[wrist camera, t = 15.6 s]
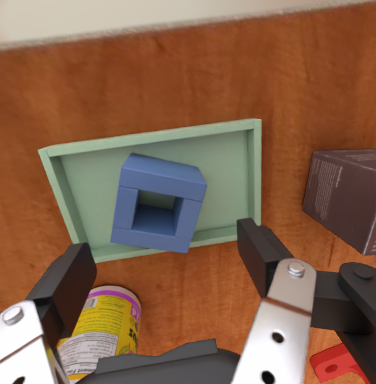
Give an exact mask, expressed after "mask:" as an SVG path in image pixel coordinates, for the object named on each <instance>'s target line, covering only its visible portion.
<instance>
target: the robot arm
mask: <svg viewBox="0 0 376 384" xmlns="http://www.w3.org/2000/svg"><path fill="white" fill-rule="evenodd" d="M236 224H237V245H238V250H239V254H240V256H241V258H242V260H243V262H244V264H245V266H246V268H247V270H248V272H249V274H250V276H251V278H252V280H253V282H254V285H255V287H256V289H257V291H258V293H259V295H260V297H261V302H260V305H259V307H258V310H257V313H256V316H255V318H254V321H253V324H252V327H251V329H250V332H249V335H248V338H247V340H246V343H245V346H244V349H243V351H242V354H241V355H239V354H237V353H234V352H232V351H229V350H225V349H219V348H217V345H216V340H215V338H214V339H208V340H202V341H196V342H191V343H186V344H184V345H182V346H180V347H177V348H175V349H173V350H171V351H169V352H166V353H164V354H162V355H160V356H146V355H137V354H128V353H127V354H121V355H116V356H110V357H104V358H99V359H98V363H97V366H96V370H95V371H93V372H91V373H90V374H88V375H86V376H84V377H83V378H82V379H80V380H79V381H77V382H76V383H75V384H303V383H304V375H305V367H306V359H307V350H308V342H309V334H310V327H314V328H321V329H328V330H335V332H336V333H337V335H338V336H339V338H340V339H341V341H342V342H343V344H344V345H345V347H346V348H347V350H348V351H349V353H350V354H351V356H352V357H353V358H354V360H355V361H356V363H357V364H358V366H359V367H360V369H361V370H362V372H363V373H364V375H365V376H366V378H367V379H368V381H369V382H370V384H376V269H375V268H373V267H371V266H368V265H365V264H362V263H356V262H348V263H344V264H342V265H341V266H340V269H339V273H336V272H324V271H316V270H315V269H314V267H313V266H312V265H311V264H309V263H307V262H306V261H303V260H300V259H296V258H294V256H293V255H292V254H291V253H290V252H289V251H288V249H287V248H286V247H285V246H284V245H283V243H282V242H280V240H279V239H278V238H277V236H276V235H275V234H274V233H273V232H272V230H271V229H269V228H267V227H265V226H264V225H259V226H257V224H256V223H255V222H254V220H253V219H252V218H251V217H250V218H243V219H237V222H236ZM96 274H97V268H96V264H95V261H94V258H93V255H92V252H91V250H90V247H89V244H88V243H87V242H83V243H77V244H71V245H70V246H69V247H68V249H67V250H66V252H65V253H64V254H63V255H61V256H60V257H58V258H57V259H56V260H55V261H54V262H52V263H51V265H50V266H49V267H48V269H47V270H46V272H45V273H44V274H43V276H42V277H41V279H40V280H39V281H38V282H37V284H36V285H35V286H34V288H33V289H32V291H31V292H30V293H29V295H28V296H27V297H26V299H25V300H24V301H21V302H18V303H16V304H14V305H12V306H10V307H8V308H7V309H5V310H4V311H3V312H1V313H0V384H70V382H69V379H68V376H67V373H66V370H65V367H64V364H63V361H62V358H61V356H60V353H59V350H58V348H57V343H58V341H59V339H64V338H70V337H71V336H72V334H73V331H74V329H75V327H76V324H77V322H78V319H79V317H80V315H81V312H82V310H83V307H84V305H85V303H86V300H87V298H88V295H89V293H90V291H91V288H92V286H93V283H94V281H95V278H96Z"/></svg>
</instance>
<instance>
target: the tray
mask: <svg viewBox="0 0 376 384" xmlns="http://www.w3.org/2000/svg"><path fill="white" fill-rule="evenodd" d="M38 153H39V155H40V158H41V161H42V163H43V166H44V169H45V171H46V174H47V176H48V179H49V182H50V184H51V187H52V190H53V192H54V195H55V198H56V200H57V203H58V206H59V208H60V211H61V213H62V216H63V219H64V221H65V224H66V227H67V229H68V232H69V235H70V237H71V240H72V243H73V244H77V243H83V242H87V243H88V244H89V247H90V250H91V252H92V255H93V258H94V261H95V263H99V262H105V261H111V260H118V259H124V258H130V257H136V256H142V255H149V254H155V253H161V252H167V251H164V250H157V249H150V248H143V247H136V246H129V245H123V244H116V243H110V239H111V232H112V227H113V226H112V225H113V218H114V211H115V204H116V197H117V190H118V186H119V185H118V184H119V177H120V170H121V166H122V165H123V164H124V162H125V161H126V159H127V158H128V157H129V155H130V154H131V153H136V154H141V155H146V156H150V157H155V158H159V159H164V160H168V161H173V162H177V163H182V164H187V165H191V166H196V167H198V168H199V170H200V172H201V173H202V175H203V177H204V179H205V181H206V183H207V189H206V192H205V196H204V199H203V201H202V202H203V203H202V206H201V210H200V213H199V217H198V220H197V223H196V227H195V230H194V234H193V237H192V239H191V243H190V247H189V248H192V247H198V246H204V245H210V244H217V243H223V242H229V241H235V240H237V224H236V222H237V219H243V218H250V217H251V218H252V219H253V220H254V222H255V223H256V224H257V226H259V225H261V120H260V119H253V118H250V119H242V120H235V121H228V122H220V123H213V124H205V125H198V126H191V127H183V128H176V129H168V130H161V131H154V132H146V133H139V134H131V135H124V136H117V137H109V138H102V139H94V140H87V141H80V142H72V143H65V144H57V145H51V146H48V147H45V148H42V149H39V150H38ZM174 200H175V196H170V195H165V194H160V193H154V192H149V191H144V190H141V193H140V199H139V204H143V205H149V206H154V207H160V208H165V209H171V210H172V209H173V205H174Z"/></svg>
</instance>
